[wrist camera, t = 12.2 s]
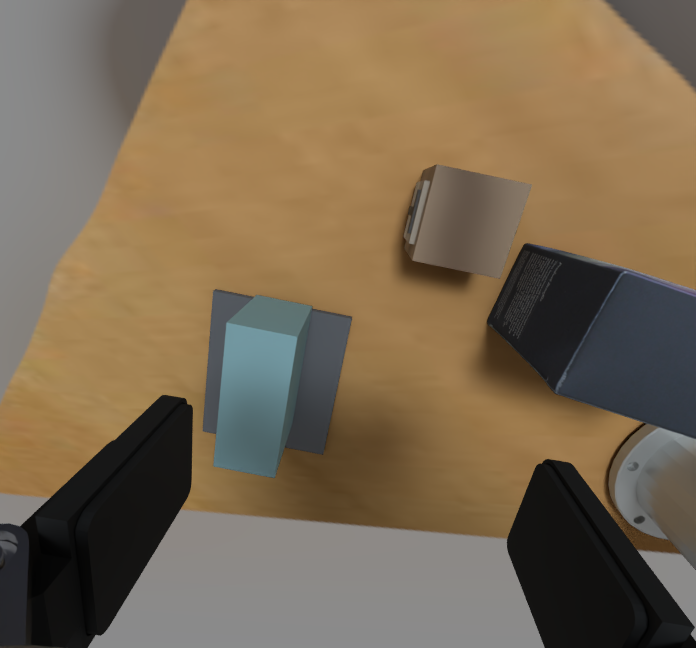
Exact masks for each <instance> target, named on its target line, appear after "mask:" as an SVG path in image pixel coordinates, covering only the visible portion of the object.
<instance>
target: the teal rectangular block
mask: <svg viewBox="0 0 696 648" xmlns="http://www.w3.org/2000/svg"><path fill="white" fill-rule="evenodd" d="M311 312H312V306H309V305H304V304H299V303H294V302H289V301H284V300H279V299H274V298H269V297H264V296H259V295H256V296H255V297H254V298H253V299H252V300H251V301H250V302H249V303H248V304H246V305H245V306H244V307H243V308H242V309H241V310H240V311H239V312H238V313H237V314H235V315H234V316H233V317H232V318H231V319H230V320H229V321H228V322H227V323H226V334H225V345H224V356H223V367H222V378H221V389H220V400H219V411H218V422H217V433H216V444H215V455H214V467H219V468H225V469H230V470H235V471H240V472H245V473H251V474H256V475H261V476H266V477H271V478H275V475H276V472H277V469H278V466H279V463H280V460H281V457H282V454H283V451H284V448H285V445H286V442H287V439H288V435H289V432H290V429H291V426H292V422H293V417H294V411H295V405H296V399H297V393H298V388H299V382H300V376H301V370H302V364H303V358H304V353H305V347H306V341H307V335H308V329H309V323H310V318H311Z"/></svg>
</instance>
